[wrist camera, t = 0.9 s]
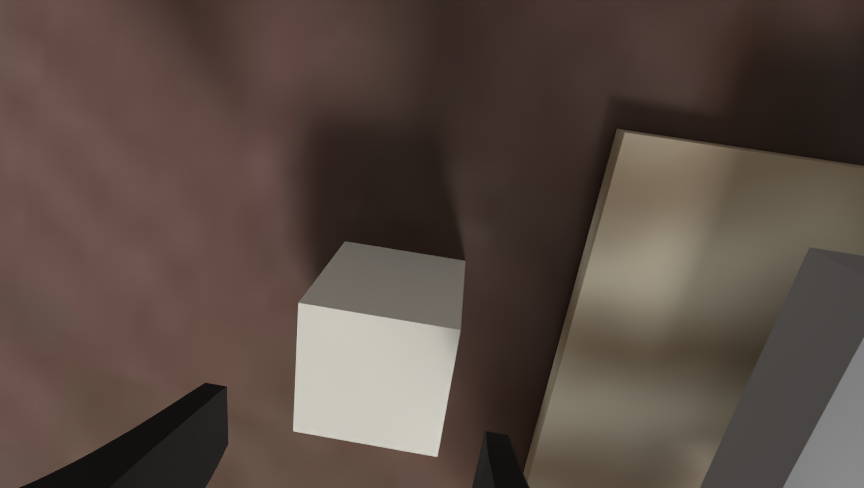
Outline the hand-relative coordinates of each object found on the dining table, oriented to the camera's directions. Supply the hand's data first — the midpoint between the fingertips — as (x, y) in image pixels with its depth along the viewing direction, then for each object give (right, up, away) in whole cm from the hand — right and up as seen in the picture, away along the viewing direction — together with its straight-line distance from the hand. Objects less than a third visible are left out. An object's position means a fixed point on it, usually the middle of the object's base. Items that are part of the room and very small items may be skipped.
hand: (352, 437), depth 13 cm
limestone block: (+1, +3, +7) cm, 8 cm away
